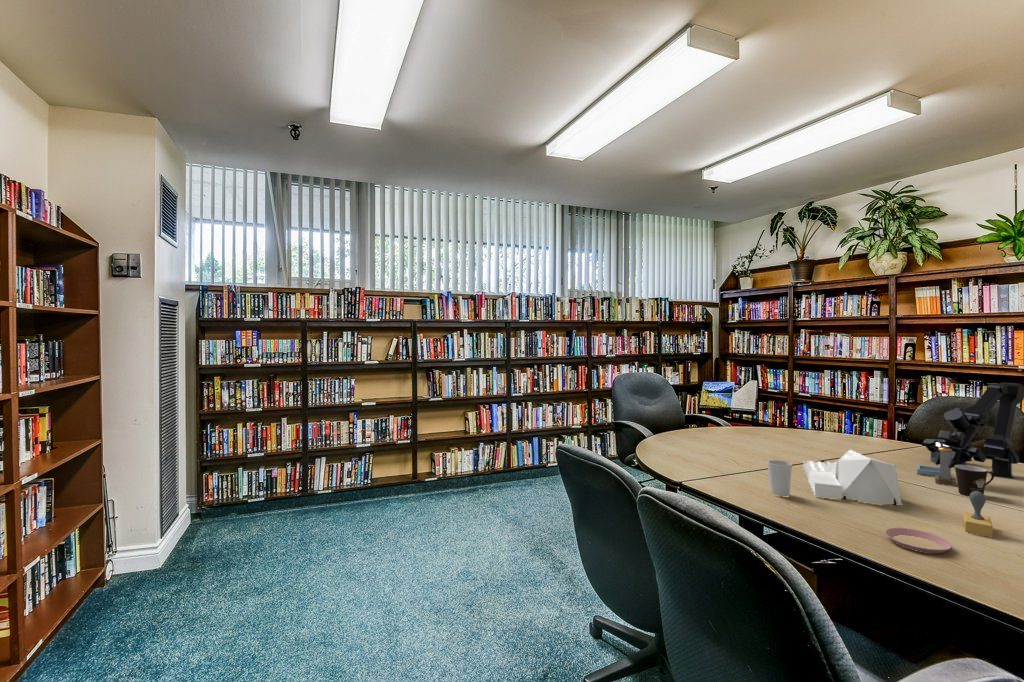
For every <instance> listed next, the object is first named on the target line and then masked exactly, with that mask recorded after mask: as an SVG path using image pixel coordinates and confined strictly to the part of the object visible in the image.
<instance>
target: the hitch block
mask: <svg viewBox="0 0 1024 682" xmlns="http://www.w3.org/2000/svg"><path fill="white" fill-rule="evenodd" d="M934 481H935V483H937V484H936V485H942V484H944V485H943V486H948V485H951V487H955V486H956V487H957V477H953V476H951V480H946V479H940V476H938V475H935V477H934Z"/></svg>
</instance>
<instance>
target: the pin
mask: <svg viewBox="0 0 1024 682" xmlns="http://www.w3.org/2000/svg"><path fill="white" fill-rule="evenodd" d="M938 450H939V451H940V464H939V468H940V479H946V480H951V477H952V476H951V474H952V473H951V472H952V468H949V467H948V466H949V464H950V462H951V452H952V448H949V447H938Z"/></svg>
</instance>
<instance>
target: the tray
mask: <svg viewBox="0 0 1024 682" xmlns="http://www.w3.org/2000/svg"><path fill="white" fill-rule="evenodd" d="M916 467H917V468H916V469H917V470H916V471H917V472H916V475H918V474H922V475H921V476H925V475H928V476H927V477H932V476H935V475H938V476H940V467H938V466H931V465H930V466H929V465H921V464H917V465H916Z"/></svg>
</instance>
